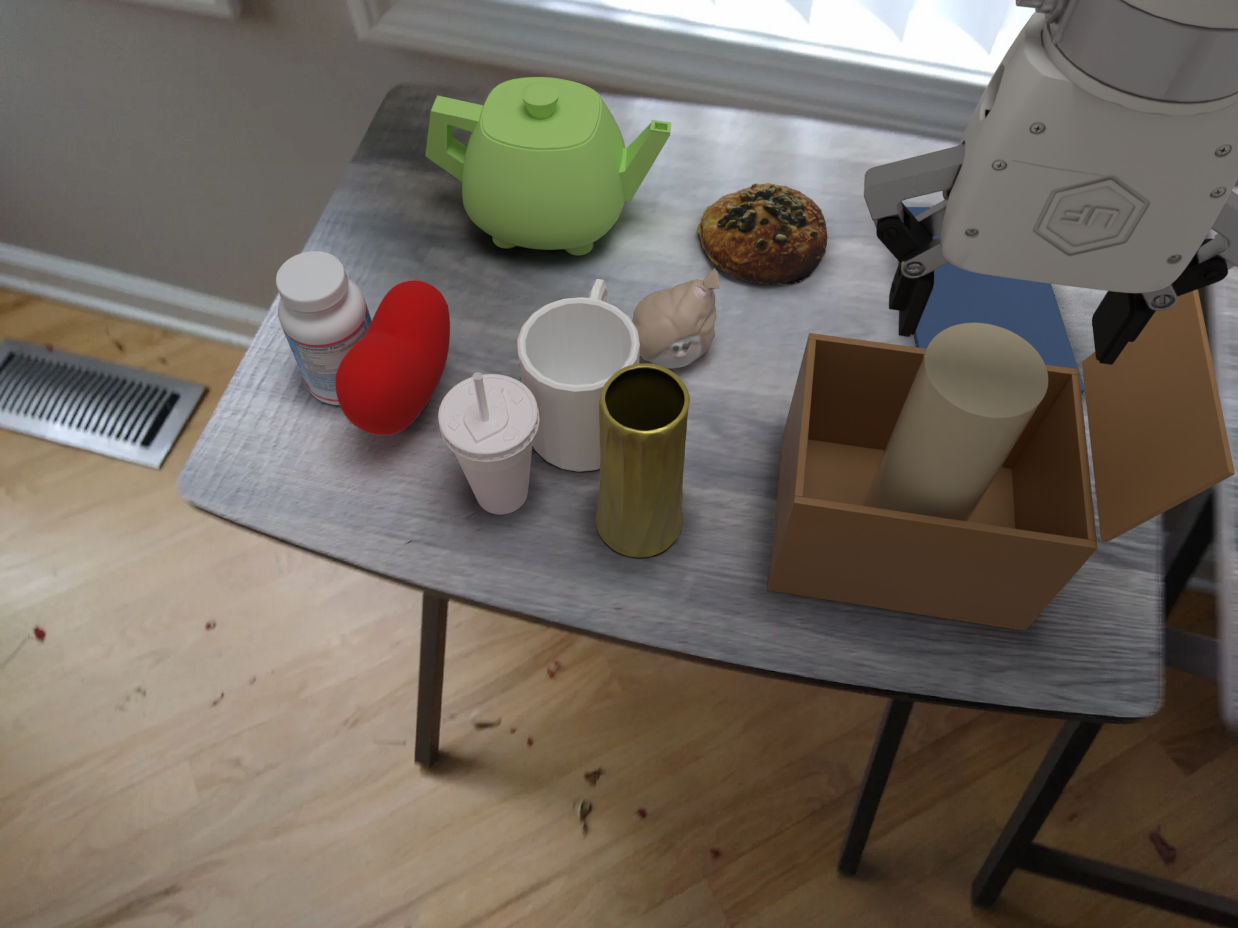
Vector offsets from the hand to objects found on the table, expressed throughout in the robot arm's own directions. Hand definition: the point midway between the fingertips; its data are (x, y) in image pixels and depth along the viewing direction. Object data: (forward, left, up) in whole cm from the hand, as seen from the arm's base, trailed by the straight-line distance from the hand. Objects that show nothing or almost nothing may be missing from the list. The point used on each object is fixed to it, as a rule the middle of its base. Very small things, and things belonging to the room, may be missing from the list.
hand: (1002, 328), depth 49 cm
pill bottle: (+37, +21, -23) cm, 48 cm away
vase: (+13, +13, -23) cm, 29 cm away
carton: (+1, -1, -22) cm, 22 cm away
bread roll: (+27, -13, -23) cm, 38 cm away
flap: (-7, -7, -6) cm, 12 cm away
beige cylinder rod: (0, 0, -22) cm, 22 cm away
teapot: (+41, -2, -23) cm, 47 cm away
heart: (+31, +20, -23) cm, 43 cm away
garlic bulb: (+23, +1, -23) cm, 32 cm away
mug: (+23, +9, -23) cm, 33 cm away
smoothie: (+21, +18, -23) cm, 36 cm away
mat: (+11, -23, -22) cm, 34 cm away
